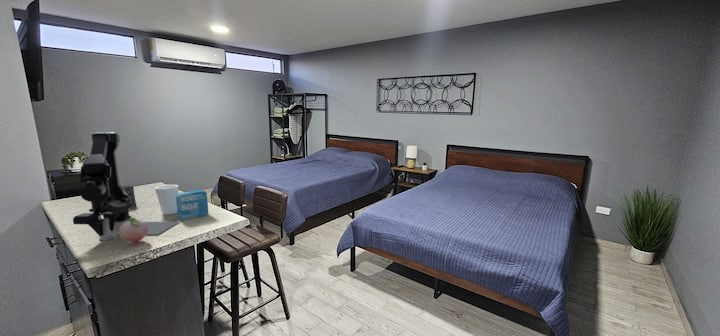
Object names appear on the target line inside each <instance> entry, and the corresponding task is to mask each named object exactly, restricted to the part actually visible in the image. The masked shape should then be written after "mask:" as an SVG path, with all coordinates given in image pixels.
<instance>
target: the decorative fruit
mask: <svg viewBox="0 0 720 336" xmlns="http://www.w3.org/2000/svg"><path fill="white" fill-rule="evenodd" d="M145 222H146V221H142V220H140V219H137V218H135V217H133V216H131V217H130V218H127V220H126V221H124V222H122V224H121V225H120V226H119V229H118V234H119V235H118V236H120V238H121V239H122V240H124V241H126V242H131V243H138V242H140V241H142V240H143V239H144V238H145V237H146V236H147V235H146V234H147V232H148V226H147V224H146V223H145Z"/></svg>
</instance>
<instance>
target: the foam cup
mask: <svg viewBox="0 0 720 336" xmlns="http://www.w3.org/2000/svg"><path fill="white" fill-rule="evenodd" d="M179 190H180V189H179V185H178V184H173V183H172V184H163V185H158V186H155V193H156V196H157V199H158V203H159V206H160V210H161V213H162V215H166V216H167V215H172V214H177V204H176V195H177V194H178V193H179Z"/></svg>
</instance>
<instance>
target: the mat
mask: <svg viewBox="0 0 720 336" xmlns="http://www.w3.org/2000/svg"><path fill="white" fill-rule="evenodd" d="M144 222H145V223H146V224H147V226H148V232H147V234H146V236H160V235H161V234H163V233H165V232H166V231H168V230H169V229H172V228H173V227H175V226H176V225H178V224H180V221H144ZM117 236H120V235H119V233H118V234H117Z"/></svg>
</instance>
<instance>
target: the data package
mask: <svg viewBox="0 0 720 336" xmlns="http://www.w3.org/2000/svg"><path fill="white" fill-rule="evenodd" d="M176 204H177V212H176V214H177V217H178V218H179V219H180V220H182V221H186V220H191V219H196V218H200V217H206V216H207V215H208V214H209V205H208V204H209V201H208V193H207V192H206V191H205V190H203V189H195V190H189V191H184V192H183V191H182V192H178V194H177V195H176Z"/></svg>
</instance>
